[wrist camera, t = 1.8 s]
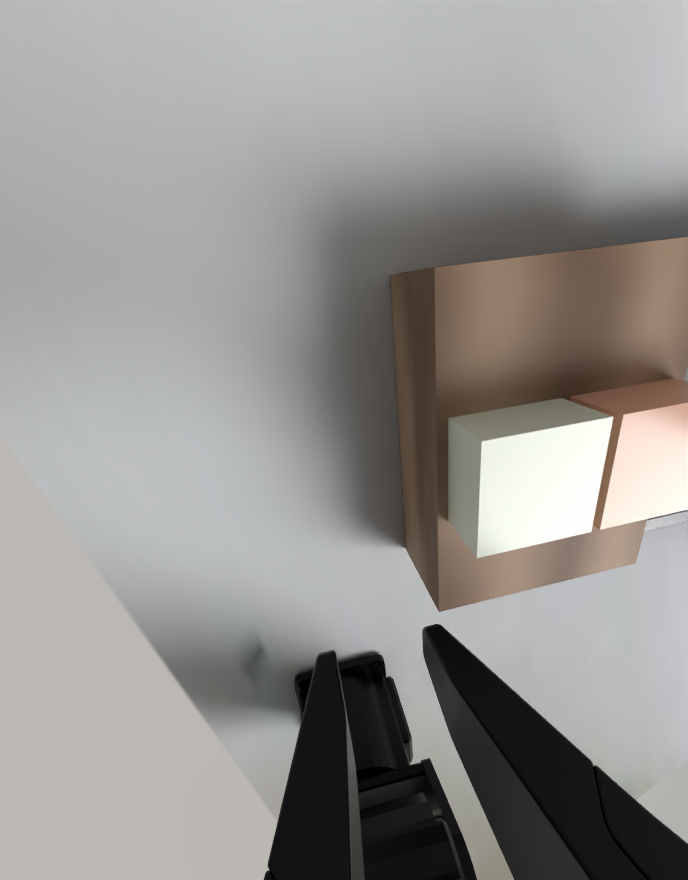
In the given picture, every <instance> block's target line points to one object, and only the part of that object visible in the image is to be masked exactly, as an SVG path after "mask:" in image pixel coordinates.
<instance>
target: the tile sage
mask: <svg viewBox="0 0 688 880" xmlns="http://www.w3.org/2000/svg"><path fill="white" fill-rule="evenodd" d="M612 422H613V416H610V415H608V414H605V413H602V412H599V411H596V410H594V409H591V408H588V407H585V406H582V405H580V404H577V403H574V402H571V401H568V400H566V399H563V398H559V399H553V400H547V401H542V402H536V403H531V404H525V405H519V406H514V407H508V408H502V409H497V410H491V411H485V412H480V413H474V414H468V415H463V416H457V417H452V418H448V522H449V523H450V524H451V526H452V527H453V528H454V529H455V531H456V532H457V533H458V535H459V536H460V537H461V538H462V540H463V541H464V542H465V544H466V545H467V546H468V548H469V549H470V550H471V551H472V553H473V554H474V555H475V557H476V558H481V557H485V556H489V555H494V554H498V553H502V552H506V551H511V550H515V549H519V548H524V547H528V546H532V545H537V544H541V543H545V542H550V541H554V540H558V539H563V538H567V537H571V536H576V535H580V534H584V533H589V532H591V531H592V525H593V520H594V515H595V510H596V505H597V500H598V494H599V489H600V484H601V479H602V474H603V469H604V464H605V458H606V453H607V448H608V443H609V438H610V433H611V428H612Z"/></svg>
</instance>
